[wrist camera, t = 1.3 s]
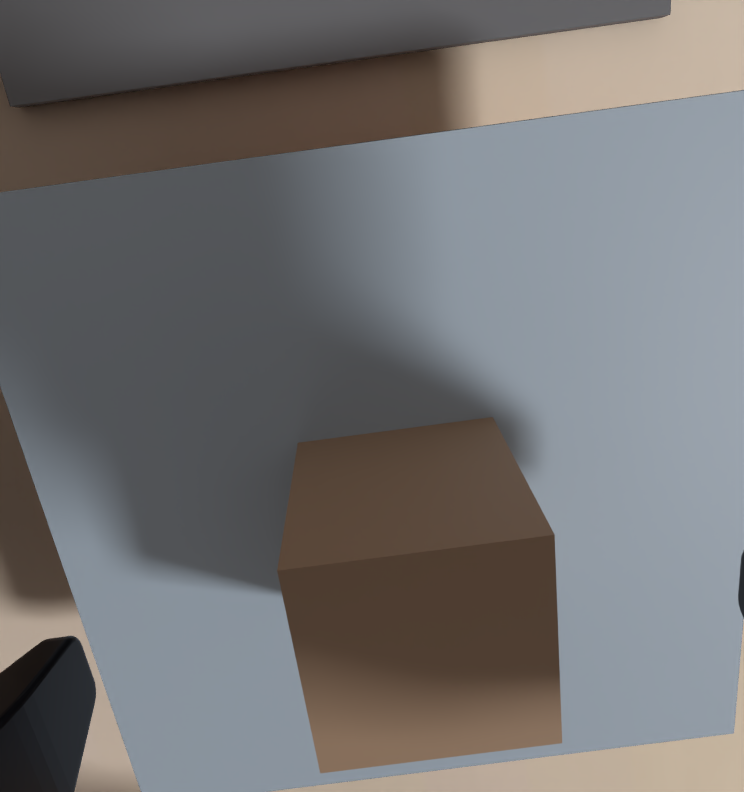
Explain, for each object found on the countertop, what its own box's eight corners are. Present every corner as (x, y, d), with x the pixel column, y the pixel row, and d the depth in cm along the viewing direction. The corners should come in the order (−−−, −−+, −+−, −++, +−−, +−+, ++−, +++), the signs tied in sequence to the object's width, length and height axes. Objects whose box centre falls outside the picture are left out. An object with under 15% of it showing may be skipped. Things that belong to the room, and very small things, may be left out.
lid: (709, 695, 15) (855, 920, 10) (158, 764, 15) (83, 1014, 11) (748, 89, 10) (1025, 54, 6) (-28, 196, 10) (-279, 234, 6)
